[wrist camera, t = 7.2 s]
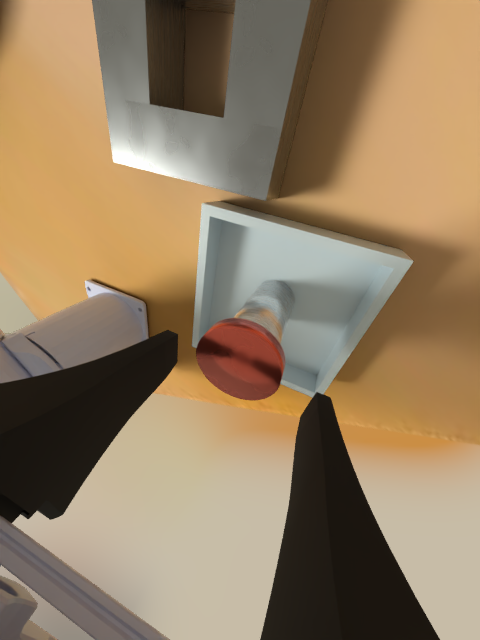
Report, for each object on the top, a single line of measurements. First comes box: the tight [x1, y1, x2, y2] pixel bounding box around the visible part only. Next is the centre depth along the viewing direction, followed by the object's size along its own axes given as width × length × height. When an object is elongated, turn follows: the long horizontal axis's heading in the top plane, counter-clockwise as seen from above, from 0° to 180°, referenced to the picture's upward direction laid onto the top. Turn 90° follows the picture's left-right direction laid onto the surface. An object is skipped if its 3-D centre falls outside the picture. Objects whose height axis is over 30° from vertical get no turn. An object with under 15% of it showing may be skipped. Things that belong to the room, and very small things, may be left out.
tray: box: [192, 201, 414, 397], centre depth 16 cm, size 12×12×2 cm
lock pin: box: [196, 280, 295, 400], centre depth 14 cm, size 4×4×8 cm
